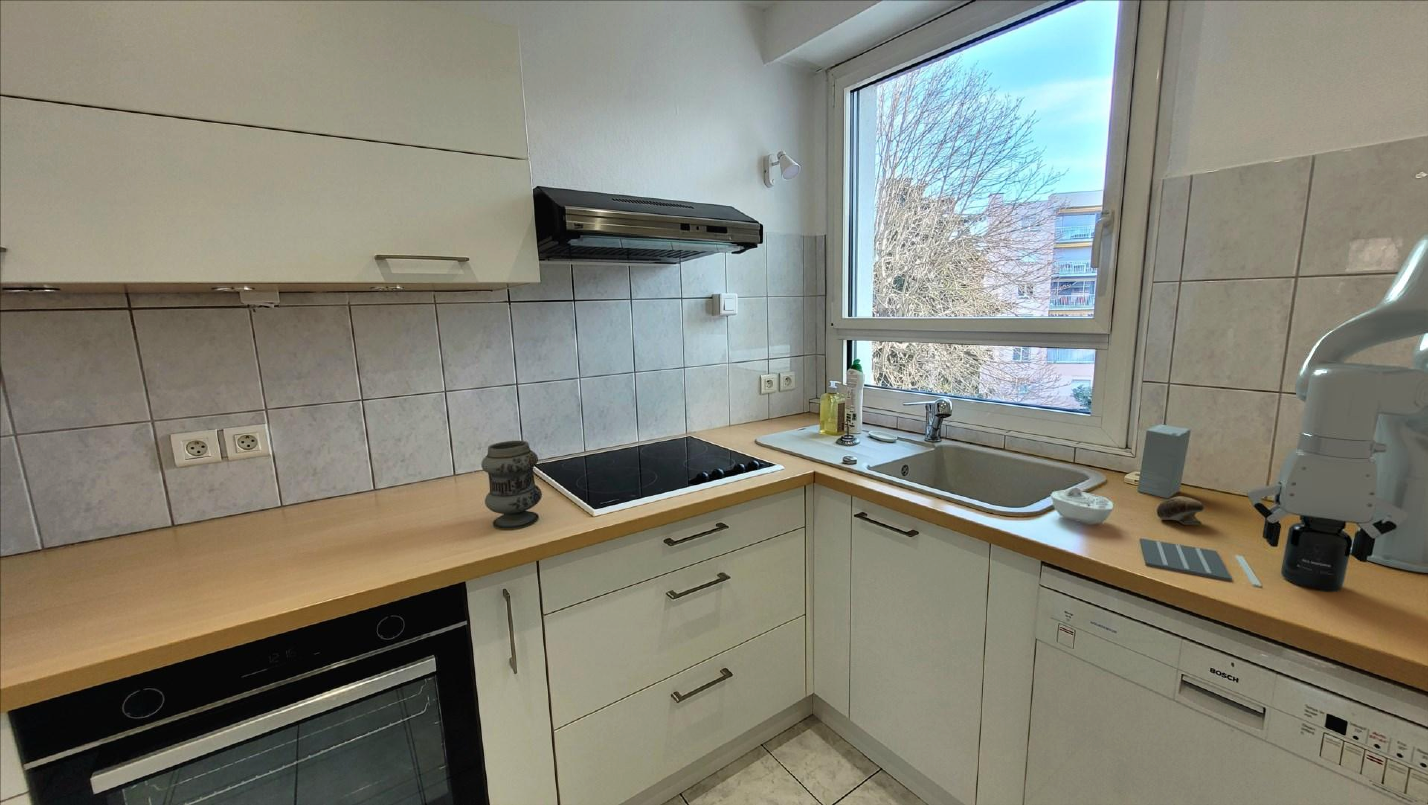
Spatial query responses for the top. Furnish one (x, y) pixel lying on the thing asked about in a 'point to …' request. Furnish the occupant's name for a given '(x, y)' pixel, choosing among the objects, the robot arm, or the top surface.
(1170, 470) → the skincare box
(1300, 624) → the top surface
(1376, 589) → the top surface
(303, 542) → the top surface
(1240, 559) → the strip
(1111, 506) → the cell model
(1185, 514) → the mushroom
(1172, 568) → the mat
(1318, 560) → the supplement bottle
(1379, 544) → the robot arm
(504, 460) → the apothecary jar
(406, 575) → the top surface
